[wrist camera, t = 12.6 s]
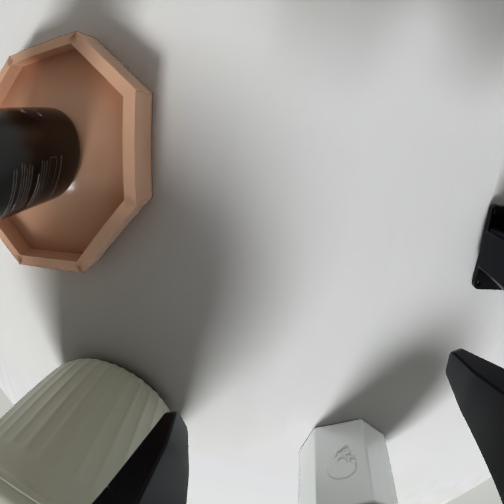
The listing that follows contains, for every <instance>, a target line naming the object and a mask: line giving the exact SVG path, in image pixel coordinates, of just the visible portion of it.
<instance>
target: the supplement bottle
mask: <svg viewBox="0 0 504 504" xmlns="http://www.w3.org/2000/svg"><path fill="white" fill-rule="evenodd" d="M79 161H80V141H79V136H78V133H77V130H76V127H75V125H74V124H73V122H72V120H71V119H70V118H69V117H68V116H67V115H66V114H65V113H64V112H62V111H60V110H58V109H56V108H50V107H9V108H0V221H1V220H3V219H5V218H8V217H10V216H13V215H15V214H17V213H20V212H22V211H25V210H27V209H30V208H33V207H35V206H38V205H40V204H43V203H45V202H48V201H50V200H53V199H55V198H57V197H59V196H61V195H62V194H63V193H64V192H65V191H66V190H67V189H68V188H69V187H70V185H71V184H72V182H73V180H74V178H75V176H76V173H77V170H78V167H79Z"/></svg>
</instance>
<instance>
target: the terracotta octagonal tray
mask: <svg viewBox="0 0 504 504" xmlns="http://www.w3.org/2000/svg"><path fill="white" fill-rule="evenodd" d="M152 95H153V94H152V93H151V92H150V91H149V90H148V89H147V88H146V87H145V86H144V85H143V84H142V83H141V82H140V81H139V80H138V79H137V78H136V77H135V76H134V75H133V74H132V73H131V72H130V71H129V70H128V69H127V68H126V67H125V66H124V65H123V64H121V63H120V62H119V61H118V60H117V59H116V58H115V57H114V56H113V55H112V54H111V53H110V52H109V51H108V50H107V49H106V48H105V47H104V46H103V45H101V44H100V43H99V42H98V41H97V40H96V38H93V37H91V36H88V35H85V34H83V33H80V32H77V31H75V32H73V33H69V34H66V35H63V36H60V37H57V38H55V39H52V40H49V41H46V42H44V43H41V44H38V45H36V46H33V47H31V48H28V49H26V50H24V51H21V52H19V53H17V54H14V55H12V56H9V58H8V60H7V61H6V63H5V65H4V67H3V68H2V70H1V72H0V108H9V107H50V108H56V109H58V110H60V111H62V112H64V113H65V114H66V115H67V116H68V117H69V118H70V119H71V120H72V122H73V124H74V125H75V127H76V130H77V133H78V136H79V141H80V161H79V167H78V170H77V173H76V176H75V178H74V180H73V182H72V184H71V185H70V187H69V188H68V189H67V190H66V191H65V192H64V193H63V194H62V195H61V196H59V197H57V198H55V199H53V200H50V201H48V202H45V203H43V204H40V205H38V206H35V207H33V208H30V209H27V210H25V211H22V212H20V213H17V214H15V215H13V216H10V217H8V218H5V219H3V220H1V221H0V238H1V240H2V241H3V243H4V244H5V245H6V247H7V248H8V249H9V251H10V252H11V253H12V255H13V256H14V257H15V259H16V260H17V261H18V262H19V264H23V265H30V266H37V267H44V268H51V269H58V270H65V271H72V272H80V273H83V272H85V271H86V270H87V269H88V268H90V267H91V266H92V265H93V264H95V263H96V262H97V261H99V260H100V258H101V257H102V255H103V254H104V253H105V252H106V250H107V249H108V248H109V247H110V245H111V244H112V243H113V242H114V241H115V239H116V238H117V237H118V236H119V235H120V233H121V232H122V231H123V230H124V229H125V227H126V226H127V225H128V224H129V223H130V222H131V220H132V219H133V218H134V217H135V216H136V215H137V214H138V212H139V211H140V210H141V209H142V208H143V207H144V206H145V205H146V203H147V202H148V201H149V200H150V199H151V198H152V197H153V196H152V168H151V129H152Z"/></svg>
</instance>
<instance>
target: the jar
mask: <svg viewBox="0 0 504 504" xmlns="http://www.w3.org/2000/svg"><path fill="white" fill-rule="evenodd" d="M298 504H398V501H397V495H396V490H395V484H394V479H393V474H392V469H391V464H390V460H389V455H388V450H387V446H386V441H385V437H384V435H383V434H382V433H380V432H379V431H377V430H376V429H374V428H373V427H372V426H370V425H369V424H367V423H366V422H365V421H363V420H362V419H357V420H353V421H348V422H343V423H338V424H333V425H328V426H322V427H317V428H314V430H313V431H312V433H311V434H310V436H309V437H308V439H307V440H306V442H305V443H304V445H303V446H302V448H301V449H300V451H299V474H298Z"/></svg>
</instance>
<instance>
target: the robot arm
mask: <svg viewBox="0 0 504 504" xmlns="http://www.w3.org/2000/svg"><path fill="white" fill-rule="evenodd" d="M495 209H496V213H495V214H494V211H495ZM478 280H479V282H478V283H477V281H478ZM472 285H473V286H474V287H475V288H476V289H493V290H504V206H502V205H497V204H492V205H491V206H490V208H489V212H488V217H487V222H486V227H485V232H484V236H483V241H482V245H481V249H480V253H479V257H478V261H477V265H476V268H475V272H474V276H473V279H472ZM446 375H447V378H448V380H449V382H450V385H451V387H452V390H453V392H454V395H455V398H456V400H457V403H458V405H459V408H460V410H461V412H462V414H463V416H464V418H465V420H466V422H467V424H468V426H469V428H470V430H471V432H472V434H473V436H474V438H475V440H476V442H477V445H478V447H479V449H480V451H481V453H482V455H483V457H484V460H485V462H486V464H487V466H488V469H489V471H490V473H491V476H492V478H493V480H494V482H495V484H496V487H497V490H498V492H499V495H500V497H501V500H502V503H503V504H504V369H503V368H501V367H499V366H497V365H495V364H493V363H491V362H489V361H487V360H485V359H483V358H480V357H478V356H476V355H474V354H472V353H470V352H468V351H466V350H464V349H457V350H455V351H452V352H451V353H450V355H449V359H448V363H447V367H446ZM188 478H189V458H188V431H187V427H186V425H185V423H184V421H183V419H182V417H181V416H180V414H179V413H178V412H176V411H175V412H166V413H164V414H163V416H162V417H161V418H160V420H159V421H158V422H157V423H156V425H155V426H154V427H153V429H152V430H151V431H150V432H149V434H148V435H147V436H146V438H145V439H144V440H143V441H142V443H141V444H140V445H139V446H138V448H137V449H136V450H135V451H134V453H133V454H132V455H131V456H130V458H129V459H128V460H127V461H126V463H125V464H124V465H123V466H122V468H121V469H120V470H119V471H118V473H117V474H116V475H115V476H114V478H113V479H112V480H111V481H110V483H109V484H108V487H107V486H106V487H105V489H104V490H103V491H102V492H101V493H100V495H99V496H98V497H97V498H96V499H95V500H94V501H93V503H92V504H186V501H187V489H188Z"/></svg>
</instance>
